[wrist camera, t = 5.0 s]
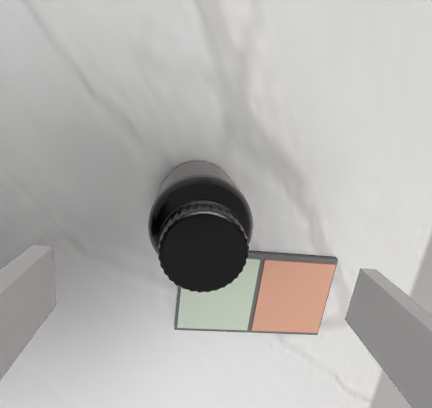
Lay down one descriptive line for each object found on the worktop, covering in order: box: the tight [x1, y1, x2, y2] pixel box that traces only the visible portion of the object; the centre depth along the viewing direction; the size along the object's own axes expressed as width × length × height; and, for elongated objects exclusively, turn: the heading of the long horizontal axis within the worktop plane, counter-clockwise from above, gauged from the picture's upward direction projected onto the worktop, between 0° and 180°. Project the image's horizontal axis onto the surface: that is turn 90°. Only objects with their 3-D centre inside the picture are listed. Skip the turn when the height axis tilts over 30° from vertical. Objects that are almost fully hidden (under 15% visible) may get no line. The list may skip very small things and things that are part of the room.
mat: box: [175, 251, 338, 335], centre depth 29 cm, size 16×10×1 cm, turn 83°
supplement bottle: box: [148, 161, 253, 293], centre depth 20 cm, size 7×7×12 cm
